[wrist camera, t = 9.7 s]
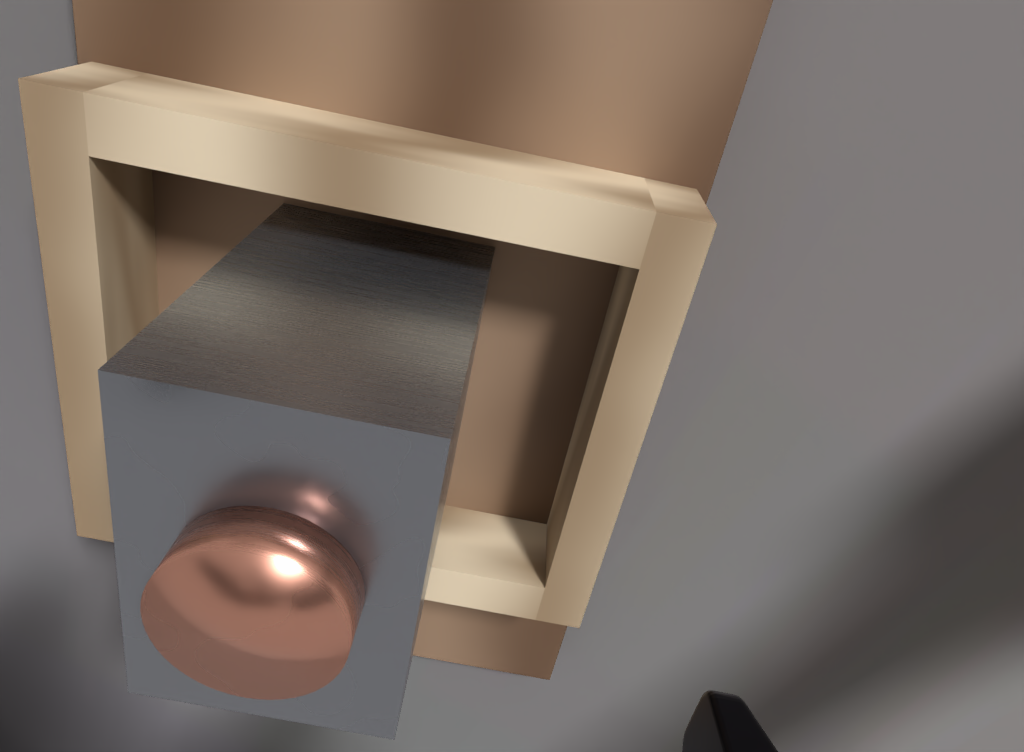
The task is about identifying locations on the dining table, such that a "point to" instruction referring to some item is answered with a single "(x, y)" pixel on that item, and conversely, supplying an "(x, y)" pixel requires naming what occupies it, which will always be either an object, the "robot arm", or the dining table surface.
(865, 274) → the dining table surface
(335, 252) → the block with copper knob
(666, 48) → the chassis bay
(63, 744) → the dining table surface
